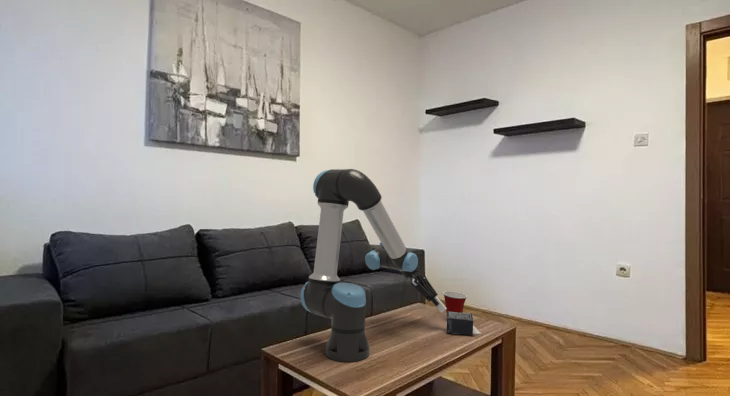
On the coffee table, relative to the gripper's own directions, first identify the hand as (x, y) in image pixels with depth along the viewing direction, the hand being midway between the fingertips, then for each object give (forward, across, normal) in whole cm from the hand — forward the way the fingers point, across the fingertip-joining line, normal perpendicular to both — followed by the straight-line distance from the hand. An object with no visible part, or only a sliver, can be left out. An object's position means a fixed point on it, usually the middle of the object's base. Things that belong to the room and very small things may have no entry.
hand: (444, 310), depth 172 cm
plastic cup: (+6, -17, -6) cm, 19 cm away
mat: (+10, -6, -1) cm, 12 cm away
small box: (+4, -1, -3) cm, 5 cm away
